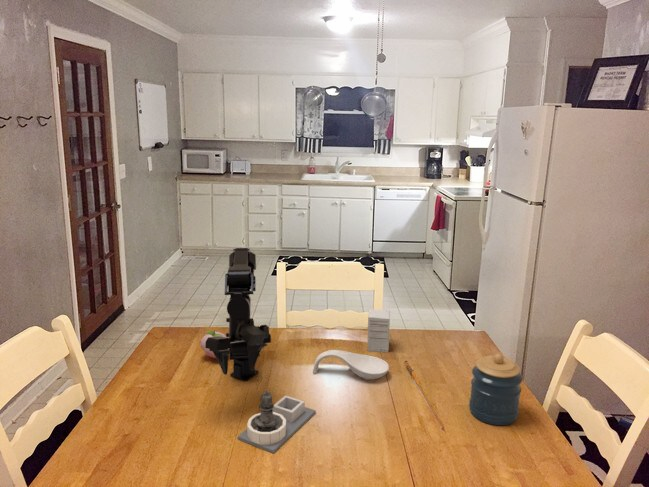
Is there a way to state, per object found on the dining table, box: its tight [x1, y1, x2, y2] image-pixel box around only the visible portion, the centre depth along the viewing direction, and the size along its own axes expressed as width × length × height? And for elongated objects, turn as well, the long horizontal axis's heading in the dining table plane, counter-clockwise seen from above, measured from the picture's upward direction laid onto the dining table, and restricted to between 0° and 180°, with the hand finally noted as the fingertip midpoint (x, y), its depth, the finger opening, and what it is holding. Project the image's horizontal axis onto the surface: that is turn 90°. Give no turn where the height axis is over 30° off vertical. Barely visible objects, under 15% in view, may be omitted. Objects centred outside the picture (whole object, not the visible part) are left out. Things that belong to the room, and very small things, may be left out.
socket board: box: [237, 395, 317, 454], centre depth 138 cm, size 20×11×4 cm, turn 150°
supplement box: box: [366, 309, 391, 353], centre depth 182 cm, size 7×7×13 cm
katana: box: [404, 360, 444, 429], centre depth 153 cm, size 1×35×3 cm, turn 7°
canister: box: [468, 353, 524, 426], centre depth 143 cm, size 13×13×18 cm
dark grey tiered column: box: [255, 389, 278, 432], centre depth 132 cm, size 6×6×12 cm
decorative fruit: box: [200, 330, 228, 360], centre depth 173 cm, size 9×8×10 cm
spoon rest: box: [312, 349, 390, 381], centre depth 165 cm, size 24×12×7 cm, turn 84°
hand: (238, 371), depth 144 cm, fingers open, 9 cm apart
